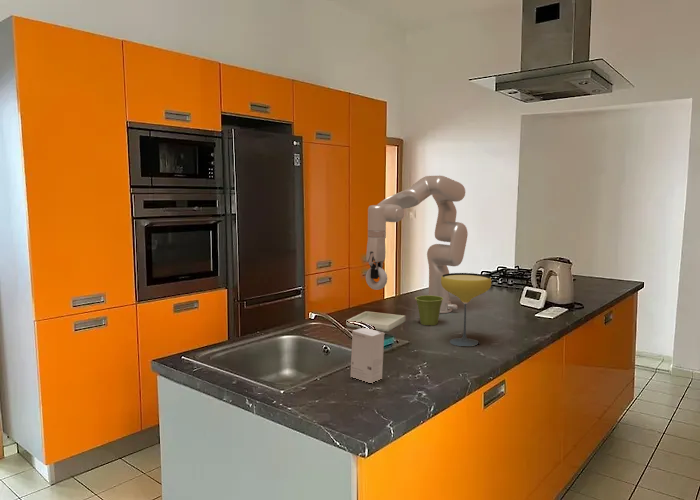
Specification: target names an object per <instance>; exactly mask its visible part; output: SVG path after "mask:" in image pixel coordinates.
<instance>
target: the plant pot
mask: <svg viewBox="0 0 700 500" xmlns="http://www.w3.org/2000/svg"><path fill="white" fill-rule="evenodd" d="M414 299H415V301H416V304H417V309H418V313H419V314H418V315H419V320H420V324H421V325H422V326H426V327H427V326H437V325H438V323H439V319H440V318H439V317H440V314H441V313H440V307H441V303H442V300H443V298H442V297H440V296H433V295H429V294H427V295H418V296H415V297H414Z"/></svg>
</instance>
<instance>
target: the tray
mask: <svg viewBox="0 0 700 500" xmlns="http://www.w3.org/2000/svg"><path fill="white" fill-rule="evenodd" d="M347 321H356V322H361V321H362V322H364V323H368V324H370V325H372V326H374V327H375V329H376V331H379V332H390V331H392V330H393V329H395V328H396V327H399V326H400V325H402V324H403V323H405V322H406V315H403V314H402V315H401V314H394V313H385V312H375V311H369V310H367V311H366V310H365V311H363V312H361V313H359V314H357V315H354V316H352V317H351V318H348V319H346V321H345V322H346V324H345V325H347V326H346V327H349V328H350V327H351V328H357V329H360V328H361V327H360V326H358V325H354V324H350V323H348V322H347Z"/></svg>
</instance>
